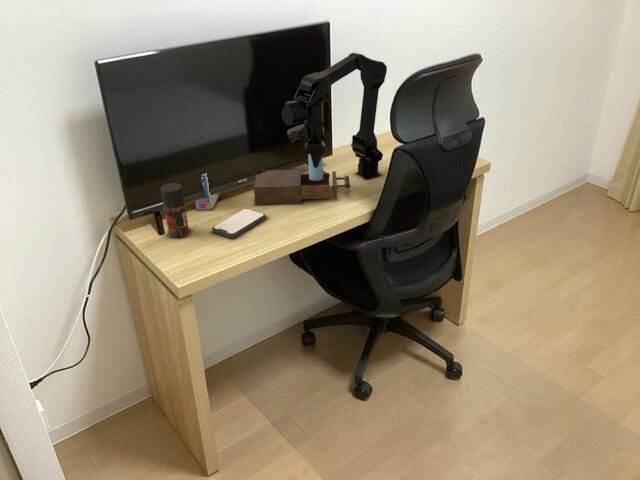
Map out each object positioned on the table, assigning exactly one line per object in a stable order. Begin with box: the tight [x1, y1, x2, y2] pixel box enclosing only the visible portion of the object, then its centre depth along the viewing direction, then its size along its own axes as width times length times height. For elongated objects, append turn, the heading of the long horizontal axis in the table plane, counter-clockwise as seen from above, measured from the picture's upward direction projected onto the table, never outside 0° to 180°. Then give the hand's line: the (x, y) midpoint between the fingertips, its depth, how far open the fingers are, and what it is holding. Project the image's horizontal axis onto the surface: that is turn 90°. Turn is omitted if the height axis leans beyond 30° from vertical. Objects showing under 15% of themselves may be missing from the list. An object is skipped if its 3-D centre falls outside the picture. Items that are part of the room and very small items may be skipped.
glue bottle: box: [307, 154, 324, 181], centre depth 186 cm, size 5×5×12 cm
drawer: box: [301, 170, 351, 200], centre depth 191 cm, size 18×12×5 cm
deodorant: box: [160, 182, 190, 239], centre depth 168 cm, size 6×6×15 cm
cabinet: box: [253, 169, 302, 206], centre depth 191 cm, size 15×13×6 cm
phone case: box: [211, 208, 266, 239], centre depth 175 cm, size 9×2×16 cm
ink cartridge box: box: [194, 173, 220, 211], centre depth 185 cm, size 10×6×14 cm, turn 174°
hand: (315, 164), depth 187 cm, fingers closed on glue bottle, 4 cm apart
